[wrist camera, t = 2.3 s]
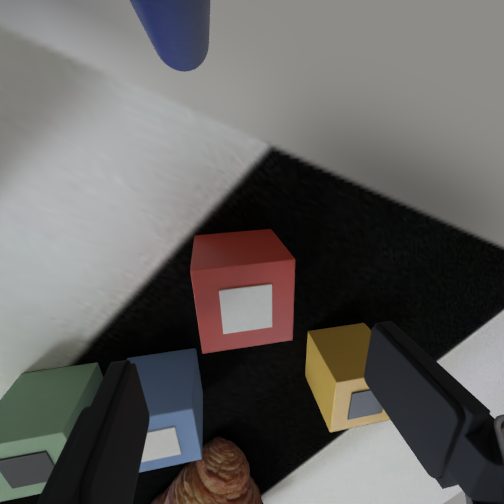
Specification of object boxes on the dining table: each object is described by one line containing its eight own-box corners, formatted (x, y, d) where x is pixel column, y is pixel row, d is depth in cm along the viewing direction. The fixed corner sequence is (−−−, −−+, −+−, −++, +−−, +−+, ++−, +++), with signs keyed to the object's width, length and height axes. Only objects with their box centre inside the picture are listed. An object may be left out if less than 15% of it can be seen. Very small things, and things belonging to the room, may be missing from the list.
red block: (194, 235, 16) (189, 271, 11) (271, 228, 17) (296, 259, 12) (203, 301, 18) (202, 355, 13) (271, 293, 19) (293, 341, 14)
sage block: (21, 373, 18) (-44, 453, 13) (97, 361, 18) (62, 434, 14) (46, 420, 20) (-3, 504, 15) (114, 408, 20) (88, 485, 16)
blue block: (127, 357, 19) (101, 426, 14) (195, 347, 19) (192, 410, 15) (140, 403, 21) (122, 478, 16) (202, 393, 21) (202, 461, 17)
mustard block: (307, 330, 21) (337, 383, 16) (364, 322, 21) (408, 371, 17) (304, 375, 23) (330, 434, 18) (356, 366, 23) (394, 421, 19)
